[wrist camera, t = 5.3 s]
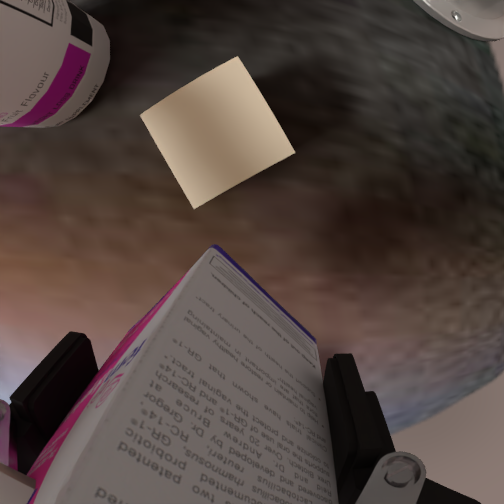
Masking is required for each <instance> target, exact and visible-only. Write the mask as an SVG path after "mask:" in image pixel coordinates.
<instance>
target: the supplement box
mask: <svg viewBox="0 0 504 504" xmlns="http://www.w3.org/2000/svg"><path fill="white" fill-rule="evenodd" d="M26 476H29V477H31V478H33V479H35V480H36V486H35V490H34V492H33V494H32V495H31V497H30V499H29V501H28V502H27V504H339V503H338V494H337V484H336V475H335V467H334V459H333V451H332V442H331V435H330V427H329V420H328V413H327V406H326V399H325V393H324V388H323V379H322V373H321V367H320V361H319V354H318V348H317V345H316V339H315V337H314V336H312V335H311V334H310V332H309V331H308V330H307V329H306V328H304V327H303V326H302V325H301V324H300V323H299V322H298V321H297V320H296V319H295V318H294V317H292V316H291V315H290V314H289V313H288V312H287V311H286V310H285V309H284V308H283V307H282V306H281V305H280V304H279V303H278V302H277V301H275V300H274V299H273V298H272V297H271V296H270V295H269V294H268V293H267V292H266V291H265V290H264V289H263V288H262V287H261V286H260V285H259V284H258V283H257V282H256V281H255V280H254V279H253V278H252V277H251V276H250V275H249V274H248V273H247V272H246V271H245V270H244V269H243V268H242V267H240V266H239V265H238V264H237V263H236V262H235V261H234V260H233V259H232V258H231V257H230V256H229V255H228V254H227V253H226V252H225V251H224V250H223V249H222V248H221V247H219V246H218V245H212V246H211V247H210V248H209V249H208V250H207V251H206V252H205V253H204V254H203V255H202V256H201V258H200V259H199V260H198V261H197V262H196V263H195V264H194V265H193V266H192V268H191V269H190V270H189V271H188V272H187V273H186V274H185V275H184V276H183V277H182V278H181V279H180V280H179V281H178V282H177V283H176V284H175V285H174V286H173V287H172V288H171V289H170V290H169V291H168V292H167V294H166V295H165V296H164V297H163V298H162V299H161V300H160V301H159V302H158V303H157V304H156V305H155V306H154V307H153V308H152V309H151V310H150V311H149V312H148V313H147V314H146V315H145V316H144V317H143V318H142V319H141V320H139V321H138V322H137V323H136V324H135V325H134V326H133V327H132V328H131V329H130V330H129V331H128V333H127V334H126V335H125V337H124V338H123V340H122V341H121V342H120V343H119V345H118V346H117V347H116V349H115V350H114V351H113V352H112V354H111V355H110V356H109V358H108V359H107V360H106V362H105V363H104V364H103V366H102V367H101V369H100V370H99V371H98V373H97V374H96V375H95V377H94V378H93V379H92V381H91V382H90V384H89V385H88V386H87V388H86V389H85V390H84V392H83V393H82V395H81V396H80V397H79V399H78V400H77V401H76V403H75V404H74V406H73V407H72V408H71V410H70V411H69V413H68V414H67V416H66V417H65V419H64V420H63V421H62V423H61V424H60V426H59V427H58V429H57V430H56V431H55V433H54V435H53V436H52V437H51V439H50V440H49V442H48V443H47V445H46V446H45V447H44V449H43V450H42V452H41V454H40V455H39V457H38V458H37V460H36V461H35V463H34V464H33V466H32V467H31V469H30V470H29V472H28V473H27V475H26Z"/></svg>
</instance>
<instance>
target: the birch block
mask: <svg viewBox="0 0 504 504" xmlns="http://www.w3.org/2000/svg"><path fill="white" fill-rule="evenodd" d="M140 116H141V118H142V120H143V121H144V123H145V125H146V127H147V128H148V130H149V132H150V134H151V135H152V137H153V139H154V141H155V142H156V144H157V146H158V148H159V149H160V151H161V153H162V155H163V156H164V158H165V160H166V162H167V163H168V165H169V167H170V169H171V170H172V172H173V174H174V176H175V177H176V179H177V181H178V182H179V184H180V186H181V188H182V189H183V191H184V193H185V194H186V196H187V198H188V200H189V201H190V203H191V205H192V206H193V208H194V209H195V208H197V207H199V206H200V205H202V204H204V203H205V202H207V201H209V200H211V199H212V198H214V197H216V196H218V195H219V194H221V193H223V192H225V191H226V190H228V189H230V188H232V187H233V186H235V185H237V184H239V183H240V182H242V181H244V180H246V179H248V178H249V177H251V176H253V175H255V174H257V173H259V172H260V171H262V170H264V169H266V168H268V167H270V166H271V165H273V164H275V163H277V162H279V161H281V160H283V159H285V158H286V157H288V156H290V155H292V154H294V153H295V151H294V149H293V147H292V146H291V144H290V142H289V140H288V139H287V137H286V135H285V133H284V132H283V130H282V128H281V126H280V125H279V123H278V121H277V119H276V118H275V116H274V114H273V113H272V111H271V109H270V108H269V106H268V104H267V103H266V101H265V99H264V98H263V96H262V94H261V93H260V91H259V89H258V88H257V86H256V84H255V83H254V81H253V80H252V78H251V76H250V75H249V73H248V72H247V70H246V69H245V67H244V65H243V64H242V62H241V61H240V59H239V58H238V56H237V57H235V58H233V59H231V60H229V61H227V62H226V63H224V64H222V65H220V66H218V67H216V68H215V69H213V70H211V71H209V72H207V73H206V74H204V75H202V76H200V77H199V78H197V79H195V80H194V81H192V82H190V83H189V84H187V85H185V86H184V87H182V88H180V89H179V90H177V91H176V92H174V93H172V94H171V95H169V96H168V97H166V98H165V99H163V100H162V101H160V102H159V103H157V104H156V105H154V106H153V107H151V108H150V109H148V110H147V111H145V112H144V113H142V114H141V115H140Z"/></svg>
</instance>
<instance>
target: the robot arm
mask: <svg viewBox="0 0 504 504" xmlns="http://www.w3.org/2000/svg"><path fill="white" fill-rule="evenodd" d="M413 1H414V2H415V3H416V4H417V5H419V6H420V7H421V8H422V9H423V10H425V11H426V12H427V13H428V14H429V15H431V16H432V17H433V18H435V19H436V20H438V21H439V22H441V23H442V24H444V25H445V26H447V27H449V28H450V29H452V30H454V31H456V32H458V33H459V34H462V35H464V36H467V37H470V38H472V39H476V40H481V41H497V40H500V39H502V38H504V0H413ZM97 373H98V367H97V364H96V360H95V356H94V352H93V348H92V345H91V341H90V339H88V338H87V336H86V335H85V334H84V333H78V332H69V333H68V334H67V335H66V336H65V337H64V338H63V339H62V340H61V341H60V342H59V343H58V344H57V345H56V346H55V347H54V349H53V350H52V351H51V352H50V353H49V354H48V355H47V356H46V357H45V358H44V359H43V360H42V361H41V363H40V364H39V365H38V366H37V367H36V368H35V369H34V370H33V371H32V372H31V374H30V375H29V376H28V377H27V378H26V379H25V380H24V381H23V383H22V384H21V385H20V386H19V387H18V388H17V389H16V391H15V392H14V393H13V394H12V395H11V396H10V397H9V398H10V400H11V404H10V405H8V403H7V402H5V401H4V400H1V399H0V504H27V502H28V501H29V499H30V497H31V495H32V494H33V492H34V490H35V486H36V480H35V479H33V478H31V477H29V476H26V475H27V473H28V472H29V470H30V469H31V467H32V466H33V464H34V463H35V461H36V460H37V458H38V457H39V455H40V454H41V452H42V450H43V449H44V447H45V446H46V445H47V443H48V442H49V440H50V439H51V437H52V436H53V435H54V433H55V431H56V430H57V429H58V427H59V426H60V424H61V423H62V421H63V420H64V419H65V417H66V416H67V414H68V413H69V411H70V410H71V408H72V407H73V406H74V404H75V403H76V401H77V400H78V399H79V397H80V396H81V395H82V393H83V392H84V390H85V389H86V388H87V386H88V385H89V384H90V382H91V381H92V379H93V378H94V377H95V375H96V374H97ZM323 388H324V393H325V399H326V406H327V413H328V420H329V427H330V435H331V442H332V451H333V459H334V467H335V475H336V484H337V494H338V503H339V504H481V503H480V502H478V501H476V500H475V499H472V498H470V497H467V496H465V495H463V494H460V493H458V492H456V491H453V490H451V489H449V488H447V487H444V486H442V485H440V484H438V483H436V482H434V481H432V480H429V479H427V478H425V477H426V469H425V466H424V464H423V462H422V461H421V460H420V459H419V458H418V457H416V456H415V455H413V454H410V453H407V452H396V451H395V448H394V445H393V442H392V439H391V436H390V433H389V430H388V427H387V424H386V421H385V418H384V415H383V412H382V410H381V407H380V404H379V401H378V398H377V396H376V394H375V392H373V391H368V392H365V390H364V387H363V384H362V381H361V378H360V375H359V372H358V369H357V366H356V363H355V360H354V358H353V355H352V354H334V356H333V358H328V360H327V365H326V370H325V376H324V381H323Z"/></svg>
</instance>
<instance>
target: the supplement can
mask: <svg viewBox="0 0 504 504" xmlns="http://www.w3.org/2000/svg"><path fill="white" fill-rule="evenodd" d="M109 62H110V40H109V37H108V35H107V33H106V30H105V28H104V26H103V25H102V24H101V23H99V22H98V21H97V20H95V19H94V18H93V17H91V16H90V15H89V14H87V13H86V12H84V11H83V10H81V9H80V8H78V7H77V6H75V5H74V4H72V3H71V2H69V1H68V0H0V126H12V127H38V128H46V127H54V126H60V125H62V124H64V123H66V122H67V121H69V120H71V119H73V118H75V117H76V116H77V115H78V114H79V113H80V112H81V111H82V110H83V109H84V108H85V107H86V106H87V105H88V104H89V103H90V102H92V100H93V98H94V96H95V95H96V93H97V91H98V90H99V88H100V86H101V85H102V83H103V82H104V78H105V75H106V72H107V68H108V65H109Z"/></svg>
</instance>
